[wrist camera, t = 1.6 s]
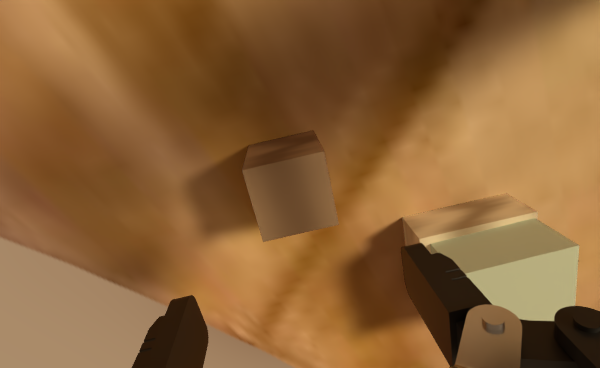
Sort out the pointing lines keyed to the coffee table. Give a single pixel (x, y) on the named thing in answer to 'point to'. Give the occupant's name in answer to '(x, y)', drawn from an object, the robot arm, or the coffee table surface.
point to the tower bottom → (464, 219)
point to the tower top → (519, 267)
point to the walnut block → (289, 186)
